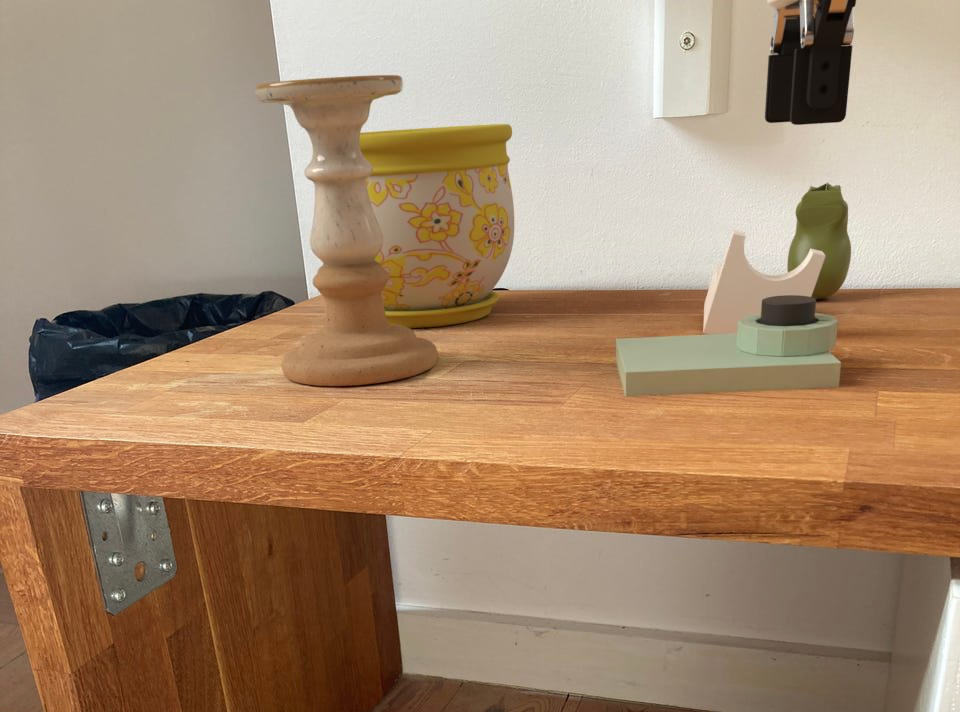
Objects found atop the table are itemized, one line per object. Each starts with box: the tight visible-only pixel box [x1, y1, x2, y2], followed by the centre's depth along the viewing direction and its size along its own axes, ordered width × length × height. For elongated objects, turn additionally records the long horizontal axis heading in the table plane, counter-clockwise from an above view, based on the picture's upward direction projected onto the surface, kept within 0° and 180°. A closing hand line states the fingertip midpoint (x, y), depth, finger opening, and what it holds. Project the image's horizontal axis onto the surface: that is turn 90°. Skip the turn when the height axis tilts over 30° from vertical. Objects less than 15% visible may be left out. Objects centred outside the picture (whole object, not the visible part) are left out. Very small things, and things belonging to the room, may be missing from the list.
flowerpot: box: [359, 123, 515, 329], centre depth 97 cm, size 18×18×16 cm
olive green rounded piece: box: [786, 182, 852, 300], centre depth 95 cm, size 6×5×10 cm
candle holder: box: [254, 74, 439, 387], centre depth 77 cm, size 12×12×20 cm
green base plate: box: [615, 312, 842, 397], centre depth 72 cm, size 15×11×4 cm
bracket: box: [702, 229, 825, 335], centre depth 85 cm, size 13×7×8 cm, turn 169°
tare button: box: [760, 295, 817, 326], centre depth 71 cm, size 4×4×2 cm
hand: (802, 120), depth 65 cm, fingers open, 7 cm apart
